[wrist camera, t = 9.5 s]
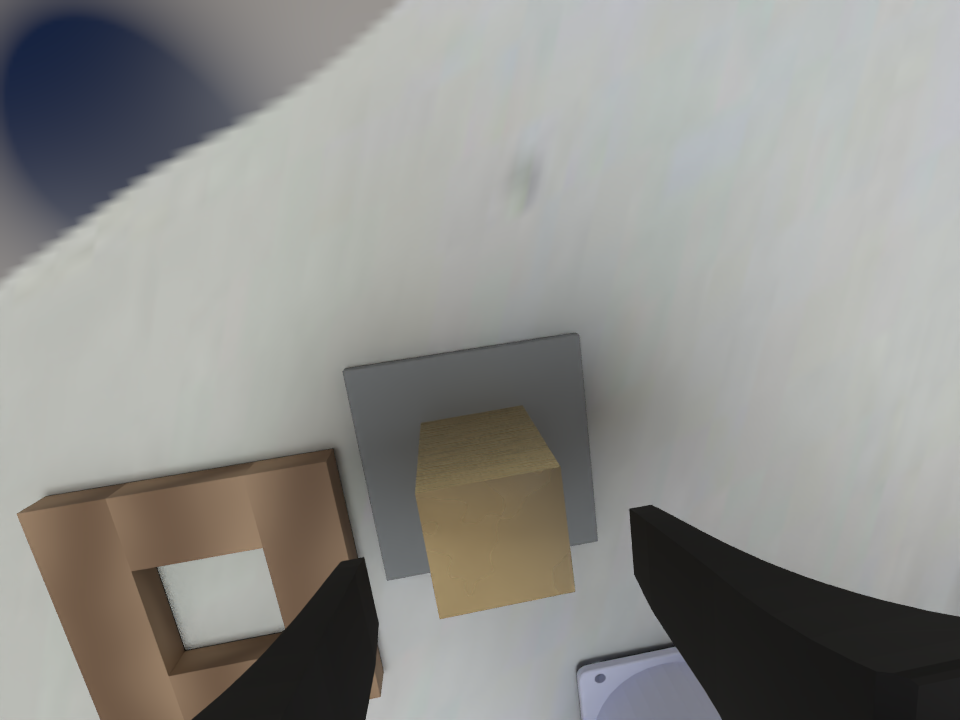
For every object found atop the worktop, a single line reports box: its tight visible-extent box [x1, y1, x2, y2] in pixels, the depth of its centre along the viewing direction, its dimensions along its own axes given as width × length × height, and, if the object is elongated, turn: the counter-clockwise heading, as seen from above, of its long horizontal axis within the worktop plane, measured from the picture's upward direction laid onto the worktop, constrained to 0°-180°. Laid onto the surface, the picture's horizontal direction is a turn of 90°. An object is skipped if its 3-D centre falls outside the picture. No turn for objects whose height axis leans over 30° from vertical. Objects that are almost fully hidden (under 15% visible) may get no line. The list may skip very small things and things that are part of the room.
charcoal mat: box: [343, 333, 598, 581], centre depth 18 cm, size 9×9×1 cm
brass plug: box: [415, 405, 575, 619], centre depth 15 cm, size 4×4×6 cm
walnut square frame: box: [17, 449, 384, 720], centre depth 18 cm, size 11×11×1 cm
